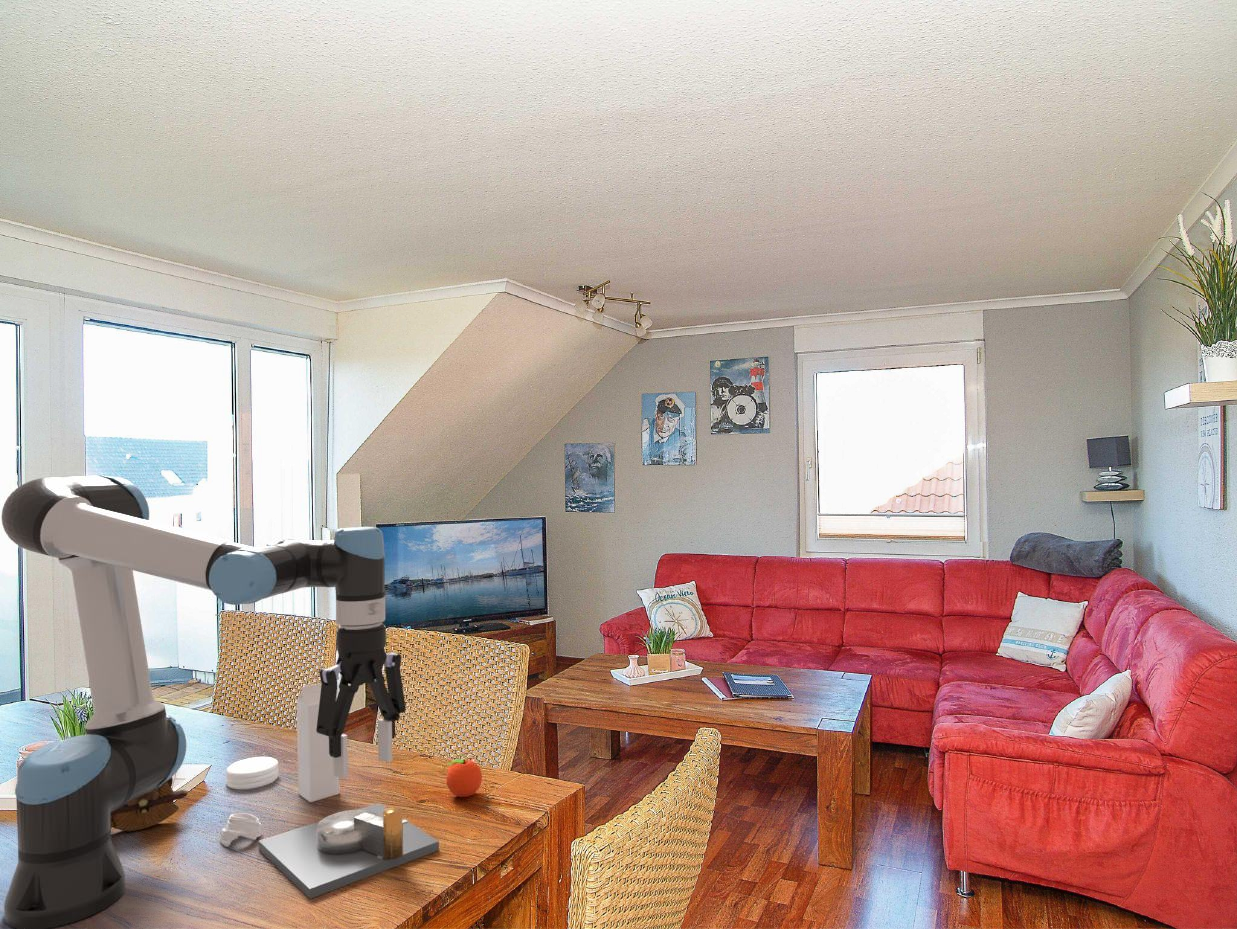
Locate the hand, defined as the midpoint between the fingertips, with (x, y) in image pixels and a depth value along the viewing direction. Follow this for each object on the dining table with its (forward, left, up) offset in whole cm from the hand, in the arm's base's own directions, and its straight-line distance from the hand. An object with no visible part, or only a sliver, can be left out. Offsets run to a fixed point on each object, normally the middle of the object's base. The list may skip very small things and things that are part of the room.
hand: (363, 767), depth 130 cm
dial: (+3, +7, -15) cm, 17 cm away
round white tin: (+1, +54, -18) cm, 57 cm away
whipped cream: (-10, +28, -18) cm, 35 cm away
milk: (+8, +37, -17) cm, 42 cm away
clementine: (+28, +16, -17) cm, 37 cm away
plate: (+2, +10, -17) cm, 20 cm away
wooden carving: (-22, +45, -17) cm, 53 cm away
